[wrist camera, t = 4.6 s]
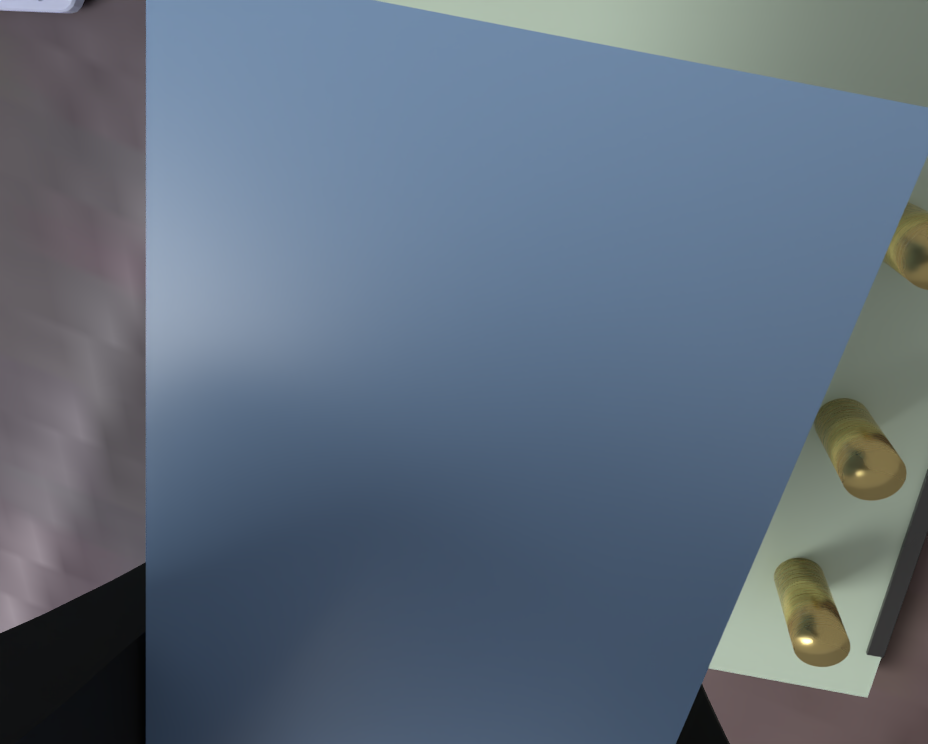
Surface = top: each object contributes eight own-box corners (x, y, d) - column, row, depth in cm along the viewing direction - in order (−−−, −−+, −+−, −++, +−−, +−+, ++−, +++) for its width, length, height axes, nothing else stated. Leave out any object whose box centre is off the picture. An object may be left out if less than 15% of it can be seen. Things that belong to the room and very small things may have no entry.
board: (338, 577, 23) (326, 597, 23) (297, -895, 12) (269, -974, 11) (856, 670, 21) (867, 697, 20) (1454, -1114, 9) (1543, -1242, 8)
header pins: (759, 633, 20) (774, 706, 18) (889, 128, 15) (936, 139, 12) (882, 655, 19) (915, 733, 17) (1062, 138, 14) (1143, 152, 12)
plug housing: (316, 735, 16) (144, 1069, 11) (414, 19, 10) (145, -45, 5) (537, 813, 15) (474, 1213, 10) (779, 90, 10) (946, 110, 4)
